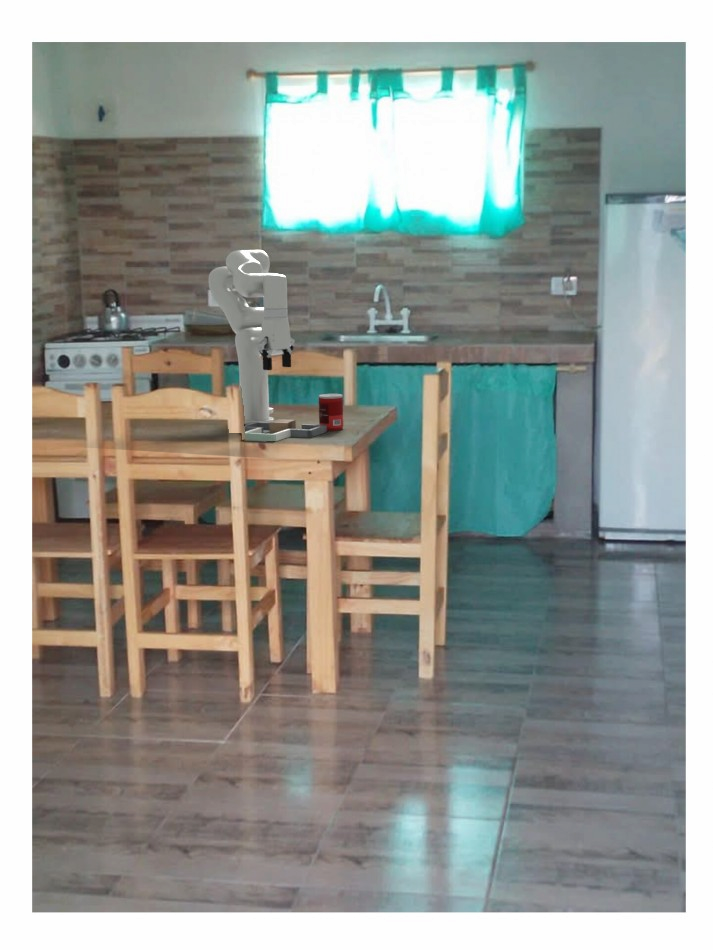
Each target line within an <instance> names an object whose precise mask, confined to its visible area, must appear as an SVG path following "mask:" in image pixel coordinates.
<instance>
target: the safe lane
mask: <svg viewBox="0 0 713 950" xmlns="http://www.w3.org/2000/svg"><path fill="white" fill-rule="evenodd" d="M245 437H246V440H245V441H247V442H249V441H250V442H251V441H253V442H266V441H275V442H278V441H282V440H284V439H286V438H290V437H292V436H291V429H286V430H283V431H280V432H277V433H274V434H270V433H266V434H263V433H262V428H256V429H252V430H249V431H246V432H245Z"/></svg>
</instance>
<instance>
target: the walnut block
mask: <svg viewBox="0 0 713 950" xmlns="http://www.w3.org/2000/svg"><path fill="white" fill-rule="evenodd" d="M296 423H297V422H296V419H283V418H282V419H274V421H272V422H269V429H270V432H269V434H274V433H277V432H280V431H283V430H286V429H297V427H296V426H297V424H296Z"/></svg>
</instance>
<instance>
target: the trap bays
mask: <svg viewBox="0 0 713 950" xmlns="http://www.w3.org/2000/svg"><path fill="white" fill-rule="evenodd" d="M244 425H245V431H249V430H252V429H256V428H262V433H263V434H270V429H269V422H254V423H251V424H244ZM327 432H328V431H327V425H319V424H311V423H308V424H307V423H301V428H296V429H291V436H290V437H293V438H294V437H297V438H313V437H316V436H320V435H321V434H324V433H327Z"/></svg>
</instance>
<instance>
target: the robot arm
mask: <svg viewBox="0 0 713 950" xmlns="http://www.w3.org/2000/svg"><path fill="white" fill-rule="evenodd" d="M225 265H226V266H219V267H216V268H214V269H212V270H211V272H210V273H209V274H208V287H209V290H210V291H209V292H210V294H211V296H212V298H213V300H214V301H215V303H216V304H217V306H218V307H219V309H221V310H222V312H223V313H224V316H225V317H226V319H227V322H228V323H229V326H230V327H231V329H232V332H234V334H235V337H234V342H235V343H234V344H235V348H236V354H237V361H238V373H239V374H238V377H239V379H238V380H239V387H240V386H241V388H242V398H243V405H244V416H245V424H244V425H247V424H251V423H254V422H272V421H275V418H274V417H272V416H270V414H273V413H274V408H273V407H270V403H269V402H270V401H269V399H270V397H269V396H270V395H269V372H268V371H272V370H273V358H272V356H278V355H281V363H282V364H281V366H282V367H283V368H291V367H292V355H293V350H294V346H295V341H296V340H295V339H294V338H293V337H291V329H290V328H291V327H290V321H289V316H288V311H289V310H288V280H287V276H286V275H284V274H280V273H275V272H269V271H270V267H271V263H270V257H269V255H268V253H266V252H265V251H264V250H262V249H241V250H240V249H239V250H238V249H237V250H234V251H231V252H230V253H229V254H228V255H227V257H226V258H225ZM245 298H263V300H262V301H263V306H260V307H259V306H256V307H252V306H250V305H249V304H248V302H247V301H246V300H247V299H245Z"/></svg>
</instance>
